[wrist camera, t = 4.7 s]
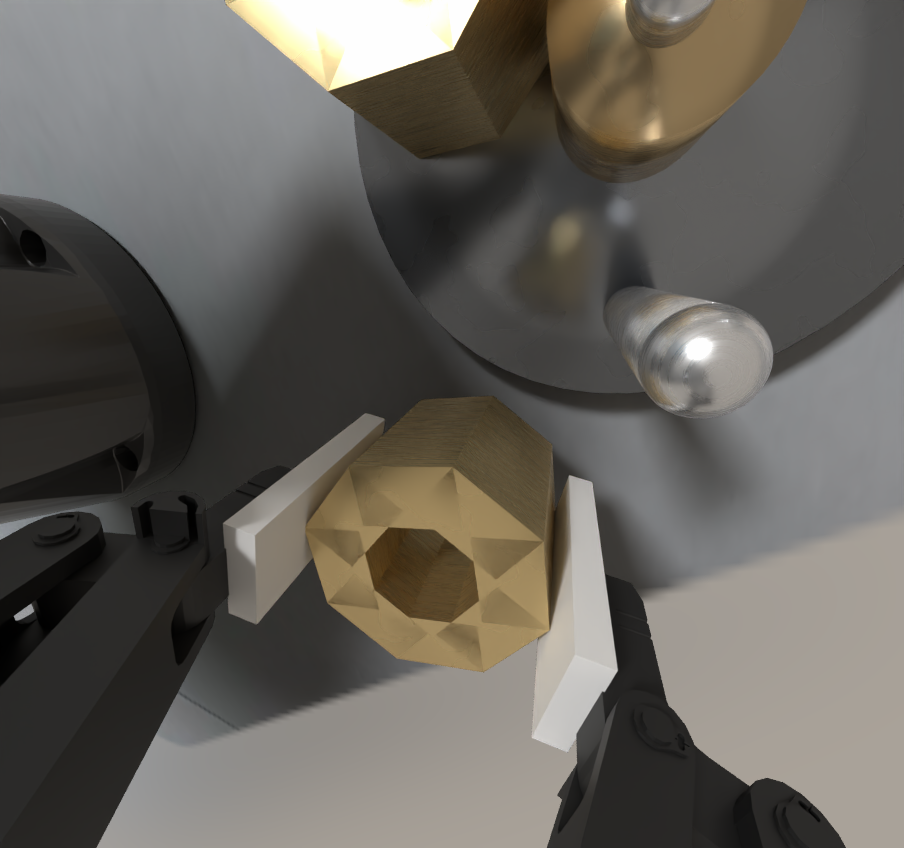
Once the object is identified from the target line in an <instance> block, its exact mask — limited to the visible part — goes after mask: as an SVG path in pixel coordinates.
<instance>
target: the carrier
mask: <svg viewBox="0 0 904 848" xmlns="http://www.w3.org/2000/svg"><path fill="white" fill-rule="evenodd" d="M547 43H548V54H549V62H548V64H547V65H546V67H545V68H544V70H543V72H542V73H541V75H540V76H539V78H538V80H537V81H536V83H535V84H534V86H533V87H532V89H531V91H530V92H529V94H528V95H527V97H526V99H525V100H524V102H523V103H522V105H521V106H520V108H519V110H518V111H517V113H516V114H515V116H514V118H513V119H512V121H511V122H510V124H509V125H508V127H507V129H506V130H505V132H504V133H503V135H502V137H501V138H500V139H497V140H493V141H489V142H485V143H481V144H477V145H473V146H469V147H465V148H461V149H457V150H453V151H449V152H445V153H441V154H437V155H433V156H429V157H425V158H421V159H419V158H417V157H416V156H414V155H413V154H412V153H410V152H409V151H408V150H406V149H405V148H404V147H402V146H401V145H400V144H398V143H397V142H396V141H394V140H393V139H392V138H390V137H389V136H387V135H386V134H385V133H383V132H382V131H381V130H379V129H378V128H377V127H375V126H374V125H373V124H371V123H370V122H369V121H367V120H366V119H364V118H363V117H362V116H360V115H359V114H358V113H356V112H355V111H354V119H355V131H356V139H357V147H358V154H359V162H360V167H361V172H362V176H363V180H364V185H365V189H366V193H367V197H368V201H369V204H370V207H371V210H372V213H373V216H374V219H375V221H376V224H377V227H378V230H379V233H380V235H381V237H382V240H383V242H384V244H385V246H386V248H387V250H388V252H389V254H390V256H391V258H392V260H393V262H394V265H395V266H396V268H397V269H398V271H399V272H400V274H401V276H402V277H403V279H404V280H405V282H406V284H407V285H408V287H409V288H410V290H411V291H412V293H413V294H414V295H415V296H416V298H417V299H418V300H419V301H420V303H421V304H422V305H423V306H424V307H425V309H426V310H427V311H428V312H429V314H430V315H431V316H432V317H433V318H434V319H435V320H436V321H437V322H438V323H439V324H440V325H441V326H442V327H443V328H445V329H446V330H447V331H448V332H449V333H450V334H451V335H452V336H453V337H454V338H455V339H457V340H458V341H460V342H461V343H462V344H464V345H465V346H466V347H468V348H469V349H470V350H472V351H473V352H474V353H476V354H477V355H479V356H481V357H482V358H484V359H486V360H488V361H490V362H491V363H493V364H495V365H497V366H499V367H500V368H502V369H504V370H507V371H509V372H512V373H514V374H517V375H519V376H522V377H524V378H527V379H529V380H532V381H535V382H539V383H543V384H547V385H550V386H554V387H558V388H562V389H569V390H577V391H584V392H592V393H637V392H646V393H647V395H648V396H649V397H650V398H651V399H652V400H653V401H654V402H655V403H656V404H657V405H658V406H660V407H661V408H663V409H664V410H666V411H668V412H670V413H673V414H675V415H678V416H682V417H687V418H700V419H704V418H713V417H718V416H722V415H725V414H728V413H730V412H733V411H735V410H737V409H739V408H740V407H742V406H744V405H745V404H747V403H748V402H749V401H750V400H752V399H753V398H754V397H755V396H756V395H757V394H758V393H759V392H760V390H761V389H762V387H763V386H764V385H765V383H766V381H767V379H768V377H769V375H770V372H771V369H772V364H773V354H776V353H778V352H780V351H782V350H784V349H786V348H788V347H790V346H791V345H793V344H795V343H797V342H798V341H800V340H802V339H804V338H805V337H807V336H809V335H811V334H812V333H814V332H816V331H817V330H819V329H821V328H823V327H824V326H826V325H828V324H829V323H830V322H832V321H833V320H835V319H836V318H837V317H839V316H840V315H842V314H843V313H844V312H846V311H847V310H849V309H850V308H851V307H853V306H854V305H856V304H857V303H858V302H860V301H861V300H863V299H864V298H866V297H867V296H868V295H870V294H871V293H872V292H873V291H874V290H875V289H876V288H878V287H879V286H880V285H881V284H882V283H883V282H885V281H886V280H887V279H888V278H889V277H890V276H891V275H893V274H894V273H895V272H896V271H897V270H898V269H900V268H901V267H902V266H903V265H904V0H548V8H547Z"/></svg>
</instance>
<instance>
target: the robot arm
mask: <svg viewBox="0 0 904 848" xmlns="http://www.w3.org/2000/svg"><path fill="white" fill-rule="evenodd" d="M194 423H195V395H194V387H193V381H192V376H191V371H190V367H189V363H188V360H187V356H186V353H185V350H184V347H183V345H182V342H181V339H180V337H179V334H178V332H177V330H176V327H175V325H174V323H173V321H172V319H171V317H170V315H169V313H168V311H167V309H166V307H165V306H164V304H163V302H162V300H161V299H160V297H159V296H158V294H157V292H156V291H155V289H154V288H153V286H152V285H151V283H150V282H149V280H148V279H147V278H146V276H145V275H144V274H143V272H142V271H141V270H140V269H139V267H138V266H137V265H136V264H135V262H134V261H133V260H132V259H131V258H130V257H129V255H128V254H127V253H126V252H125V251H124V250H123V249H122V248H121V247H120V246H119V245H118V244H117V243H116V242H115V241H114V240H113V239H111V238H110V237H109V236H108V235H107V234H106V233H104V232H103V231H102V230H101V229H100V228H98V227H97V226H96V225H94V224H93V223H91V222H90V221H89V220H87V219H85V218H84V217H82V216H81V215H79V214H77V213H75V212H74V211H72V210H70V209H68V208H65V207H63V206H61V205H58V204H55V203H52V202H49V201H45V200H41V199H34V198H26V197H19V196H11V195H4V194H0V524H2V523H7V522H12V521H17V520H22V519H26V518H31V517H36V516H41V515H46V514H50V513H55V512H60V511H65V510H70V509H74V508H79V507H84V506H89V505H94V504H98V503H103V502H108V501H113V500H116V499H119V498H121V497H124V496H127V495H129V494H131V493H133V492H135V491H137V490H139V489H141V488H143V487H145V486H147V485H149V484H151V483H153V482H155V481H157V480H159V479H161V478H163V477H165V476H166V475H168V474H169V473H171V472H172V471H173V470H174V469H175V468H176V467H177V466H178V465H179V464H180V462H181V461H182V460H183V458H184V456H185V454H186V453H187V450H188V448H189V445H190V442H191V439H192V435H193V431H194ZM384 424H385V419H384V418H381V417H377V416H374V415H371V414H367V413H365V414H364V415H362V416H361V417H360V418H358V419H357V420H356V421H355V422H353V423H352V424H351V425H349V426H348V427H347V428H346V429H344V430H343V431H342V432H340V433H339V434H338V435H336V436H335V437H334V438H333V439H331V440H330V441H329V442H327V443H326V444H325V445H324V446H322V447H321V448H320V449H318V450H317V451H316V452H315V453H313V454H312V455H311V456H309V457H308V458H307V459H305V460H304V461H303V462H302V463H300V464H299V465H298V466H296V467H295V468H294V469H293V470H292V469H289V468H286V467H283V466H277V467H274V468H271V469H268V470H265V471H262V472H261V473H259V474H258V475H256V476H255V477H254V478H252V479H251V480H249V481H248V483H247V484H246V483H245V484H244V485H242V486H241V487H239V488H238V489H236V492H232V493H231V494H229V495H228V496H226V497H225V498H224V499H222V500H221V501H219V502H218V503H216V504H215V505H214V506H212V507H211V508H209V509H208V510H206V508H205V504H204V501H203V499H202V498H201V497H199V496H198V495H197V494H194V493H190V492H186V491H169V492H163V493H158V494H154V495H152V496H149V497H147V498H144V499H142V500H140V501H139V502H137V503H136V504H134V505H133V506H132V507H131V510H132V515H133V520H134V525H135V531H136V535H128V534H116V533H104V532H103V529H102V525H101V522H100V519H99V517H97V516H95V515H93V514H91V513H85V512H67V513H60V514H56V515H52V516H48V517H44V518H42V519H40V520H37V521H35V522H33V523H31V524H28V525H27V526H25V527H23V528H21V529H19V530H18V531H16V532H14V533H12V534H10V535H9V536H7V537H5V538H3V539H1V540H0V848H96V847H97V845H98V844H99V842H100V840H101V838H102V836H103V834H104V832H105V830H106V828H107V826H108V824H109V823H110V821H111V819H112V817H113V815H114V813H115V811H116V809H117V807H118V805H119V803H120V802H121V800H122V798H123V796H124V794H125V792H126V790H127V788H128V786H129V784H130V782H131V781H132V779H133V777H134V775H135V773H136V771H137V769H138V767H139V765H140V763H141V761H142V760H143V758H144V756H145V754H146V752H147V750H148V748H149V746H150V744H151V742H152V740H153V738H154V737H155V735H156V733H157V731H158V729H159V727H160V725H161V723H162V721H163V719H164V718H165V716H166V714H167V712H168V710H169V708H170V706H171V704H172V702H173V700H174V698H175V697H176V695H177V693H178V691H179V689H180V687H181V685H182V683H183V681H184V679H185V677H186V676H187V674H188V672H189V670H190V668H191V666H192V664H193V662H194V660H195V658H196V656H197V655H198V653H199V651H200V649H201V647H202V645H203V643H204V641H205V639H206V637H207V635H208V634H209V632H210V630H211V628H212V626H213V622H214V619H215V612H214V610H215V609H216V608H217V607H218V606H219V605H220V604H221V603H222V602H223V601H224V600H225V599H226V598H227V597H228V610H229V614H232V615H234V616H237V617H239V618H242V619H244V620H246V621H249V622H251V623H254V624H256V625H257V624H258V623H259V621H260V620H261V619H262V618H263V617H264V615H265V614H266V613H267V612H268V611H269V610H270V608H271V607H272V606H273V605H274V604H275V602H276V601H277V600H278V599H279V598H280V596H281V595H282V594H283V593H284V592H285V590H286V589H287V588H288V587H289V586H290V584H291V583H292V582H293V581H294V580H295V579H296V577H297V576H298V575H299V574H300V573H301V571H302V570H303V569H304V568H305V567H306V565H307V564H308V563H309V562H310V561H311V559H312V558H313V555H312V552H311V549H310V545H309V542H308V539H307V536H306V533H305V526H306V524H307V523H308V522H309V520H310V519H311V518H312V516H313V515H314V514H315V512H316V511H317V509H318V508H319V507H320V505H321V504H322V503H323V501H324V500H325V499H326V497H327V496H328V494H329V493H330V492H331V490H332V489H333V488H334V486H335V485H336V483H337V482H338V481H339V479H340V478H341V477H342V475H343V474H344V473H345V471H346V470H347V468H348V467H349V466H350V465H351V464H352V463H353V462H354V461H355V460H356V459H357V458H359V457H360V456H361V455H362V454H363V453H364V452H365V451H366V450H367V449H368V448H369V447H371V446H372V445H373V444H374V443H375V442H376V441H377V440H378V439H379V438H380V437H381V436H383V431H384ZM30 604H32V606H33V609H34V612H33V613H32V614H30V615H29V616H27V617H25V618H23V619H21V620H18V621H15V618H14V615H16V614H17V613H18V612H20V611H21V610H23V609H24V608H25V607H27V606H28V605H30ZM650 638H651V633H650V630H649V625H648V624H647V616H646V612H645V609H644V604H643V601H642V599H641V598H640V596H639V595H638V593H637V592H636V590H635V589H634V587H633V585H632V584H631V583H629V582H626V581H623V580H620V579H617V578H614V577H611V576H608V575H605V573H604V566H603V558H602V551H601V544H600V536H599V529H598V522H597V514H596V507H595V500H594V492H593V485H592V482H590V481H587V480H584V479H580V478H577V477H574V476H570V475H569V477H568V479H567V482H566V484H565V487H564V489H563V492H562V494H561V497H560V499H559V502H558V505H557V507H556V510H555V524H554V546H553V572H552V592H551V612H550V630H549V631H547V632H546V633H544V634H543V635H541V636H539V637H538V644H537V660H536V675H535V691H534V707H533V722H532V736H531V737H532V738H533V739H536V740H538V741H541V742H543V743H545V744H548V745H550V746H553V747H555V748H558V749H560V750H562V751H565V752H568V751H569V749H570V748H571V746H572V744H573V743H574V741H575V740H576V738H577V765H576V766H575V768H574V769H573V771H572V772H571V774H570V776H569V777H568V779H567V780H566V782H565V783H564V785H563V786H562V788H561V790H560V791H559V793H558V796H559V797H560V798H561V799H562V802H561V805H560V808H559V811H558V814H557V817H556V821H555V824H554V827H553V830H552V833H551V837H550V840H549V843H548V846H547V848H846V847H845V845H844V843H843V842H842V840H841V838H840V836H839V834H838V833H837V832H836V831H835V830H834V828H833V827H832V826H831V824H830V823H829V822H828V820H827V819H826V818H825V817H824V816H823V814H822V813H821V812H820V811H819V810H818V809H817V808H816V807H815V806H813V804H811V803H810V802H809V801H808V800H807V799H806V798H805V797H804V796H803V795H802V794H800V793H799V792H797V791H796V790H794V789H792V788H791V787H789V786H788V785H786V784H785V783H783V782H780V781H776V780H773V779H769V778H765V779H761V780H757V781H755V782H754V783H753V784H752V785H751V786H748V785H747V784H745V783H744V782H743V781H741V780H740V779H738V778H737V777H736V776H734V775H733V774H731V773H730V772H729V771H727V770H726V769H724V768H723V767H721V766H720V765H718V764H717V763H716V762H714V761H713V760H712V759H710V758H709V757H708V756H706V755H705V754H704V753H703V752H701V751H700V750H699V749H698V748H697V747H696V746H695V745H694V743H693V740H692V738H691V736H690V734H689V732H688V730H687V728H686V726H685V724H684V723H683V722H682V720H681V719H680V718H679V717H678V715H677V714H676V713H675V711H674V710H673V709H672V708H670V707H669V706H668V703H667V701H666V696H665V692H664V688H663V684H662V680H661V675H660V671H659V667H658V663H657V659H656V654H655V650H654V646H653V642H652V640H651V639H650Z"/></svg>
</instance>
